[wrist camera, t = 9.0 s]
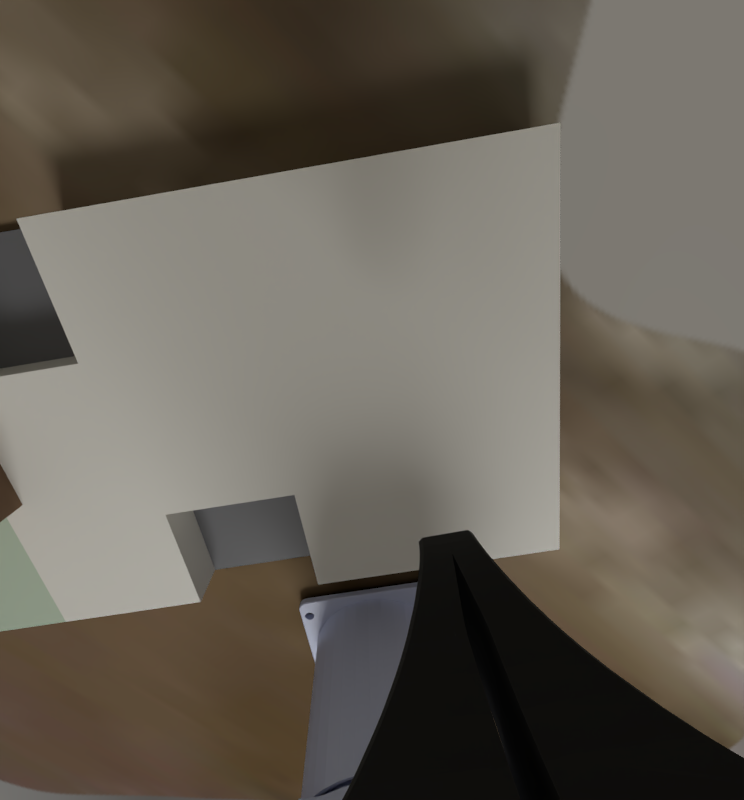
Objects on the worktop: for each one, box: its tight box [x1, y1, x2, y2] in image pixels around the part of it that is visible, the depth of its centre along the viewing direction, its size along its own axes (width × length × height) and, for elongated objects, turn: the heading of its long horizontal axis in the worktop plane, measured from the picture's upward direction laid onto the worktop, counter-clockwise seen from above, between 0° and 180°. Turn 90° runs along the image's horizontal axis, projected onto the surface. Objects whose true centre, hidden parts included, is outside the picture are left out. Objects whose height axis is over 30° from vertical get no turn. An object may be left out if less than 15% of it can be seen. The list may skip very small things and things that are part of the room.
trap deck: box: [0, 123, 561, 631], centre depth 18 cm, size 18×30×4 cm, turn 99°
